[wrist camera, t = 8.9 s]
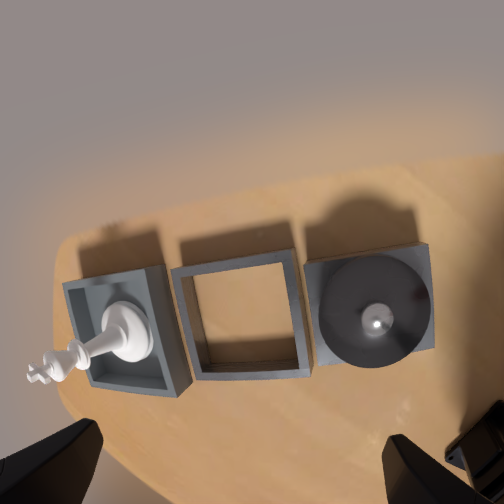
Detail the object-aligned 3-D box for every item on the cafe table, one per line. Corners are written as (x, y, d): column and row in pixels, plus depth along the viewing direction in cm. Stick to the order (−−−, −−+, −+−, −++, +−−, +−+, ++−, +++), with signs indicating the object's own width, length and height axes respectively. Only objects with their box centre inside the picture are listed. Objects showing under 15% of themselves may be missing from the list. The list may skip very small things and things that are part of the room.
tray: (164, 263, 21) (144, 268, 19) (192, 382, 22) (177, 397, 19) (82, 278, 24) (62, 283, 22) (108, 375, 24) (91, 386, 22)
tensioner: (417, 226, 16) (436, 227, 12) (426, 348, 17) (442, 376, 13) (182, 266, 21) (149, 275, 17) (205, 370, 21) (179, 396, 17)
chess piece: (108, 291, 22) (4, 321, 13) (158, 314, 21) (51, 364, 12) (104, 344, 23) (13, 387, 14) (150, 370, 22) (60, 431, 12)
